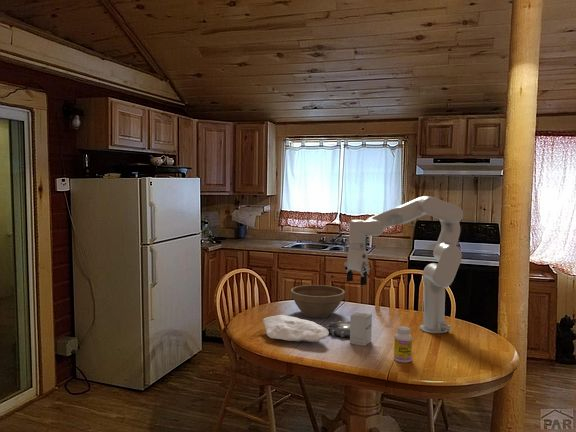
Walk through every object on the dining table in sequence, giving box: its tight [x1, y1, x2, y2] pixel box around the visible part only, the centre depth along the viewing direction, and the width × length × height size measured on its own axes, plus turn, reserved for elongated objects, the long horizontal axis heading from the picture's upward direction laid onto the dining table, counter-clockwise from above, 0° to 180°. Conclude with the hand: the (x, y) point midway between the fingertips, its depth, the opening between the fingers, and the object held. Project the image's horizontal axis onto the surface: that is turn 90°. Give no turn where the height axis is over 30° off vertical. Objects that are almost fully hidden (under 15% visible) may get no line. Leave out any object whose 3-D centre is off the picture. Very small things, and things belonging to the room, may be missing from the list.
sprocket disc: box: [326, 320, 350, 338], centre depth 218 cm, size 18×18×6 cm
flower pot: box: [290, 284, 346, 319], centre depth 248 cm, size 28×28×13 cm
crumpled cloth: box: [262, 314, 330, 343], centre depth 211 cm, size 24×35×9 cm
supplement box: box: [349, 311, 373, 347], centre depth 205 cm, size 7×7×13 cm
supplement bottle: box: [393, 325, 413, 364], centre depth 185 cm, size 7×7×13 cm
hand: (356, 282), depth 219 cm, fingers open, 9 cm apart
